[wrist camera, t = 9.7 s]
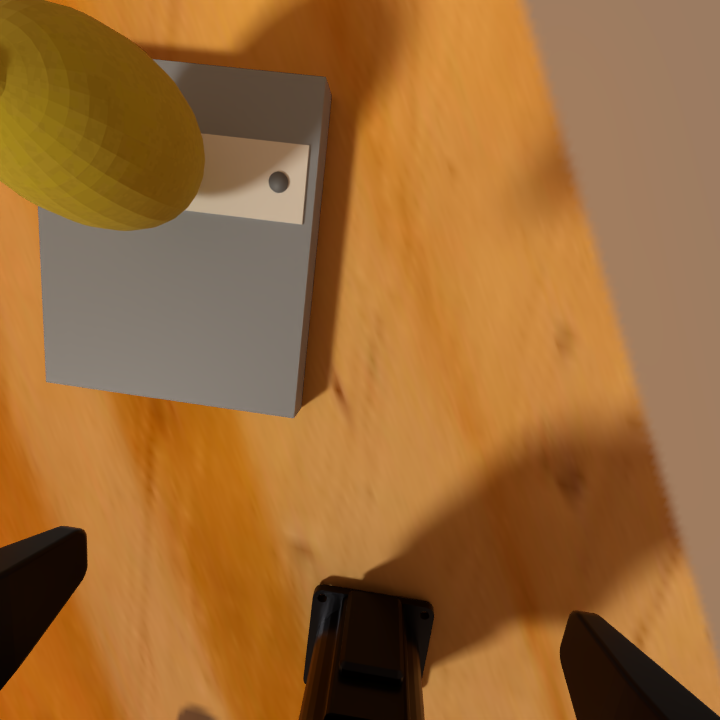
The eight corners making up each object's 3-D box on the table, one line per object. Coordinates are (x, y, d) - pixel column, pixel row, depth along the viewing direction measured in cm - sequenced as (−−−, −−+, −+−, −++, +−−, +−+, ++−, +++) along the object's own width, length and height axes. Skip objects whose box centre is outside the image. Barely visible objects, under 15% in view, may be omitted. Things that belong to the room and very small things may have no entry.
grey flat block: (301, 407, 19) (292, 419, 17) (71, 374, 20) (42, 382, 18) (331, 95, 16) (325, 74, 15) (62, 67, 17) (26, 44, 15)
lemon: (117, 81, 15) (-169, -131, 7) (250, 117, 15) (103, -58, 7) (100, 222, 16) (-163, 168, 9) (224, 257, 16) (72, 234, 8)
